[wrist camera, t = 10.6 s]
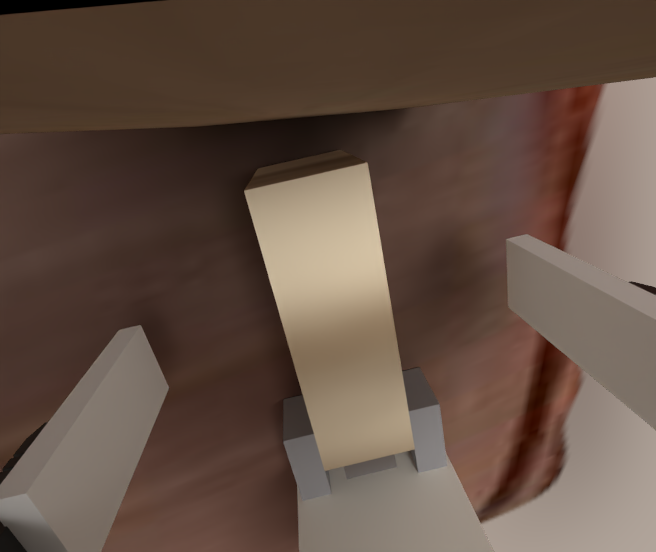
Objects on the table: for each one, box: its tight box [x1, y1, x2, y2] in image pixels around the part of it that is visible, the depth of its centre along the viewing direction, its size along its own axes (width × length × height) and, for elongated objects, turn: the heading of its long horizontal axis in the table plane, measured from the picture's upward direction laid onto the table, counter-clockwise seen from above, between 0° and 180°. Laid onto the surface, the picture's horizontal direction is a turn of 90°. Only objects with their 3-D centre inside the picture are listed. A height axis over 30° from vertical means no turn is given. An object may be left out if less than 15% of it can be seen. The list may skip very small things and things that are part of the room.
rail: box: [244, 150, 415, 479], centre depth 17 cm, size 14×4×6 cm, turn 12°
